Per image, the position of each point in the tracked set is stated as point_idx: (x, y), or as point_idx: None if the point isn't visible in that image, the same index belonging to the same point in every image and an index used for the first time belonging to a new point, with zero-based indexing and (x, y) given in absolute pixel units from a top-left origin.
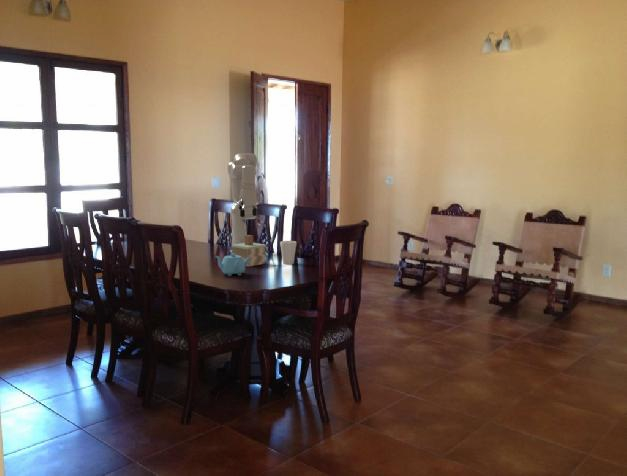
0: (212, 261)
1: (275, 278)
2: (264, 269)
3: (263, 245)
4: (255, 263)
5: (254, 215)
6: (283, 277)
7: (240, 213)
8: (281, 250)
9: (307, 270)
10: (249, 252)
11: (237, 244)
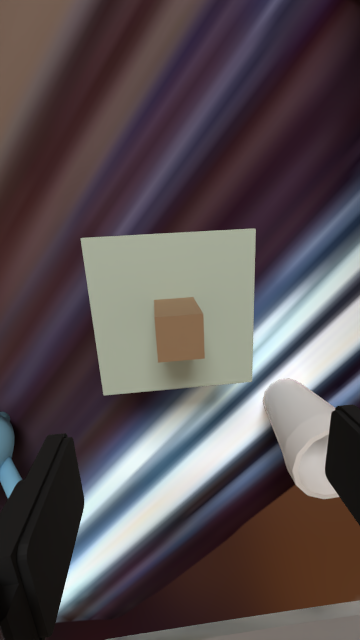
0: (53, 102)
1: None
2: (131, 429)
3: (228, 382)
4: None
5: (327, 451)
6: (94, 548)
7: (8, 510)
8: (286, 418)
9: (228, 517)
10: None
11: (125, 256)
